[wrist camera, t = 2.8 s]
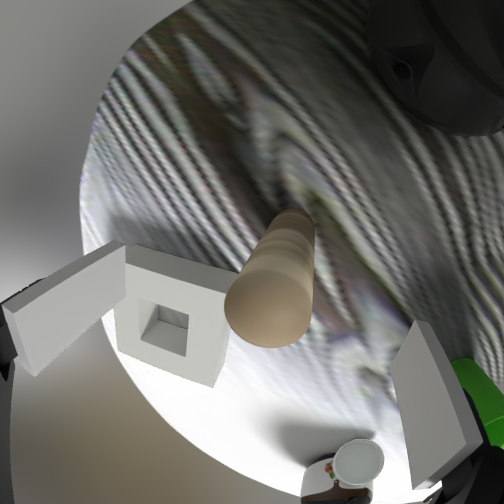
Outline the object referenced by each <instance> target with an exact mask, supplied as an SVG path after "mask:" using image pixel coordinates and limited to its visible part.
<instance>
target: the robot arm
mask: <svg viewBox="0 0 504 504" xmlns="http://www.w3.org/2000/svg"><path fill="white" fill-rule="evenodd" d="M365 34H366V41H367V46H368V50H369V53H370V56H371V58H372V61H373V63H374V65H375V67H376V69H377V71H378V73H379V75H380V76H381V78H382V80H383V81H384V83H385V84H386V86H387V87H388V88H389V89H390V91H391V92H392V93H393V94H394V96H395V97H396V98H397V99H398V100H399V101H400V102H401V103H402V104H403V105H404V106H405V107H406V108H407V109H408V110H409V111H411V112H412V113H413V114H414V115H415V116H417V117H418V118H420V119H421V120H422V121H424V122H426V123H427V124H429V125H431V126H432V127H434V128H436V129H438V130H441V131H443V132H446V133H449V134H453V135H457V136H466V137H471V136H487V135H491V134H495V133H497V132H500V131H502V130H503V129H504V0H372V2H371V5H370V7H369V10H368V13H367V17H366V23H365ZM125 249H126V245H125V244H121V243H118V242H115V241H112V242H110V243H108V244H106V245H104V246H102V247H100V248H98V249H96V250H95V251H93V252H91V253H89V254H87V255H85V256H83V257H81V258H80V259H78V260H76V261H74V262H72V263H71V264H69V265H67V266H65V267H63V268H62V269H60V270H58V271H57V272H55V273H53V274H51V275H50V276H48V277H46V278H43V279H39V280H37V281H35V282H34V283H32V284H30V285H29V287H25V288H24V289H22V291H19V292H17V293H15V294H14V295H12V296H11V297H9V298H7V299H6V300H4V301H3V302H1V303H0V504H15V503H14V498H13V497H14V496H13V488H12V478H11V466H10V465H11V464H10V412H11V398H12V387H13V378H14V371H15V363H14V360H13V359H14V358H15V357H16V356H18V357H19V360H20V362H21V365H22V367H23V368H24V369H25V370H27V371H28V372H29V373H30V374H32V375H33V376H36V375H38V374H39V373H40V372H41V371H42V370H43V369H44V368H45V367H46V366H47V365H48V364H49V363H50V362H52V361H53V360H54V359H55V358H56V357H57V356H58V355H59V354H60V353H61V352H62V351H64V350H65V349H66V348H67V347H68V346H69V345H70V344H71V343H73V342H74V341H75V340H76V339H77V338H78V337H79V336H80V335H81V334H83V333H84V332H85V331H86V330H87V329H88V328H89V327H91V326H92V325H93V324H94V323H95V322H96V321H97V320H99V319H100V318H101V317H102V316H103V315H105V314H106V313H107V312H108V311H109V310H110V309H112V308H113V307H114V306H115V305H116V304H117V303H119V302H120V301H121V300H122V299H123V298H125V297H126V286H125ZM389 368H390V372H391V376H392V380H393V384H394V388H395V393H396V397H397V401H398V406H399V411H400V415H401V420H402V425H403V431H404V436H405V442H406V447H407V453H408V460H409V467H410V474H411V482H412V490H417V489H427V488H431V487H432V486H434V485H435V484H436V483H438V482H439V481H440V480H441V481H442V487H441V488H440V489H438V490H437V491H435V492H434V493H433V494H431V495H430V496H428V497H427V498H426V499H425V500H424V501H423V502H424V503H425V502H427V501H428V500H430V499H431V498H432V500H431V502H430V503H429V504H504V450H503V449H502V448H501V447H499V446H496V445H494V446H491V444H490V441H489V438H488V435H487V433H486V430H485V428H484V425H483V423H482V420H481V418H480V417H479V413H478V410H477V409H476V406H475V403H474V401H473V399H472V397H471V396H470V394H469V393H468V392H467V391H466V390H465V388H462V387H461V385H460V383H459V381H458V379H457V376H456V374H455V372H454V370H453V368H452V366H451V364H450V362H449V360H448V358H447V356H446V354H445V352H444V350H443V348H442V346H441V344H440V342H439V340H438V338H437V337H436V335H435V333H434V331H433V329H432V327H431V325H430V324H429V322H425V321H420V320H414V322H413V324H412V326H411V328H410V330H409V332H408V334H407V336H406V338H405V340H404V342H403V344H402V346H401V348H400V349H399V351H398V353H397V355H396V357H395V358H394V360H393V362H392V364H391V365H390V367H389Z"/></svg>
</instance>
